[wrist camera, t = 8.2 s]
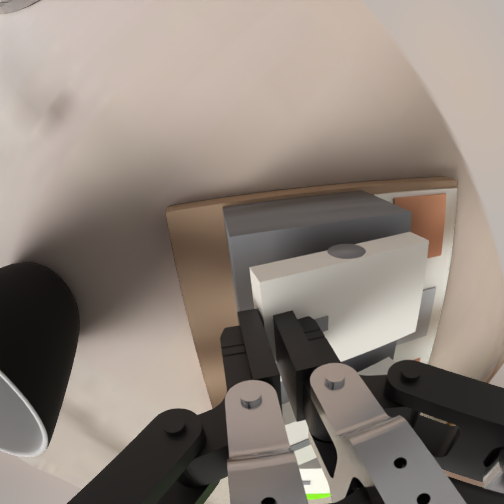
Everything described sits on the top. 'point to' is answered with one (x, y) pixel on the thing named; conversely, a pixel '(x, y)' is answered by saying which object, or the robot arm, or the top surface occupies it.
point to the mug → (34, 355)
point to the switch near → (348, 291)
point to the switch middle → (299, 430)
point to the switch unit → (304, 253)
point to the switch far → (313, 477)
